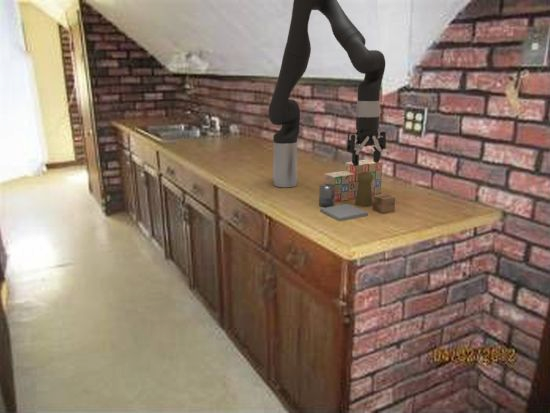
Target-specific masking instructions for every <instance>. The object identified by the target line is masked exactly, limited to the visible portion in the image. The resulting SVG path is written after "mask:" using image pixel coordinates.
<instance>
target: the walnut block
mask: <svg viewBox="0 0 550 413" xmlns="http://www.w3.org/2000/svg"><path fill="white" fill-rule="evenodd" d="M372 201H373V205H372V211H374V212H376V213H378V214H382V215H384V214H385V215H386V214H389V213H394V212H395V207H396V197H395V196H393V195H390V194H387V193H381V194H377V195H372Z"/></svg>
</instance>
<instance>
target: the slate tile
mask: <svg viewBox="0 0 550 413" xmlns="http://www.w3.org/2000/svg"><path fill="white" fill-rule="evenodd" d="M319 211H320V213H323V214H324V215H327V216H328V217H330V218H333V219H334V218H335V220H336V219H337V221H338V220H339V221H338V222H342V220H343V221H346V220H352V219H357V218H361V217H367V216H369V212H368V211H365V210H364V209H361V208H359V207H356V206H354V205H352V204H349V203H343V204H338V205H334V206H332V207H326V208H324V207H320V209H319Z"/></svg>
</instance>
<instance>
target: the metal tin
mask: <svg viewBox="0 0 550 413" xmlns="http://www.w3.org/2000/svg"><path fill="white" fill-rule="evenodd" d="M318 196H319V200H318V201H319V203H318V204H319V205H318V206H319V207H320V208H326V207H332V206H335V202H334V185H332V184H324V183H321V184H320V185H319V195H318Z"/></svg>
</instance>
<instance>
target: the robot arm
mask: <svg viewBox="0 0 550 413" xmlns="http://www.w3.org/2000/svg"><path fill="white" fill-rule="evenodd" d="M312 11H319V12H320V13H321V14H322V15H323V16H325V17H326V19H327V20H328V22H329V24H330V28H331V31H332V34H333V36H334V38H335V39H336V41H337V42H338V44H340V46H341V48H342V49H344V51H345V52H346V54H347V56H348V59H349V60H350V63H351V65H352V66H353V68H354V69H355V70H356V71H357V72H359V73H360V74H365V75H364V79H363V81H361V82H360V83H359V84H358V86H357V102H356V107H355V108H356V110H355V129H356V132H355V134H353V133H348V134H347V145H346V152H347V153H351V162H352V163H353V165H355V166H358V165H359V160H360V154H359V153H360V152H361V150H363V149H364V147H372V148H373V157H372V160H373V161H374V162H376V163H378V162H379V161H380V162H381V152H382V150H385V149H386V148H387V146H386V145H387V140H386V139H387V138H386V136H387V134H386V133H387V132H386V131H385V130H384V131H383V130H379V128H380V118H381V117H380V116H381V115H380V112H381V106H380V105H381V104H380V95H381V85H382V83H383V82H382V81H383V78H384V75H385V74H384V73H385V70H386V58H385V55H384V54H383V52H382V51H380V50H373V49H371V50H369V49H368V47H366V38H365V37H364V34H363V33H361V31H360V30H359V29H358V28H357V27H356V26H355V24H354V23H353V22H352V21H351V19H350V18H349V17H348V15H347V14H346V12H345V11H344V10H343V8H342V6H341V5H340V3H339V1H338V0H293V3H292V10H291V18H290V24H289V29H288V34H287V35H288V36H287V40H286V44H285V47H284V51H283V54H282V60H281V65H280V71H279V74H278V77H277V81H276V84H275V88H274V92H273V93H272V94H273V95H272V96H271V97H272V98H271V100H270V103H269V107H268V118H269V121H270V123H271V124H272V125H275V126H281V127H280V129H279V130H278V131H277V132H275V133H274V134H273V137H272V138H273V140H272V142H273V144H272V145H273V146H272V147H273V164H272V167H273V169H272V170H273V172H272V173H273V175H272V176H273V177H272V178H273V185H274V186H275V187H279V188H292V187H293V188H294V187H296V186H297V185H298V137H299V133H300V122H301V120H300V119H301V110H300V105H299V104H298V102H297V101H296V100H295V99H293V98H290V97H291V96H290V95H291V94H292V91H293V89H294V88H295V86H296V85H297V83H298V82H299V81H300V79H302V77H303V76H304V75H305V72H306V70H307V68H308V64H309V60H310V57H311V50H312V47H311V41H310V35H309V23H310V22H309V21H310V17H311V14H312ZM378 130H379V131H378Z"/></svg>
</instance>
